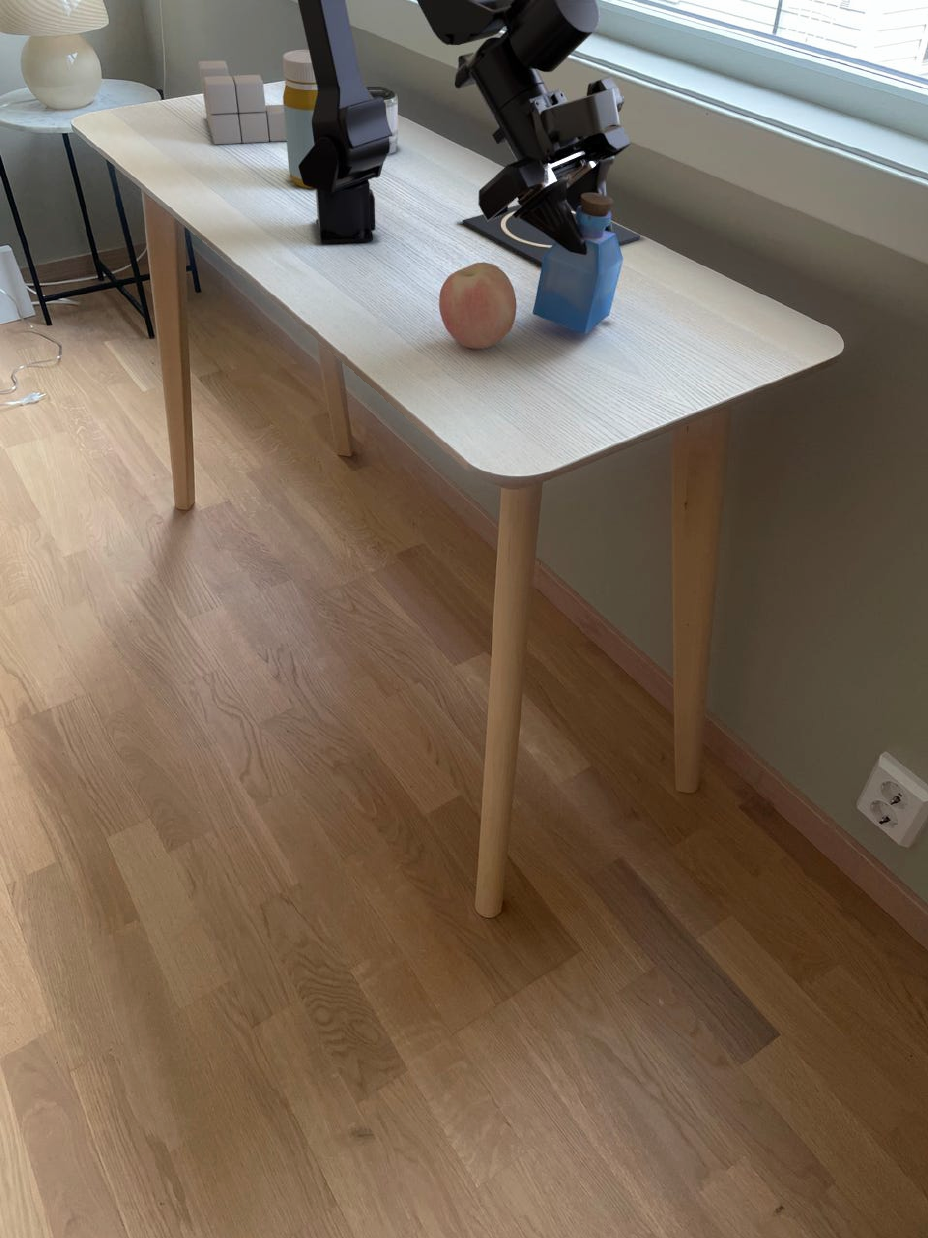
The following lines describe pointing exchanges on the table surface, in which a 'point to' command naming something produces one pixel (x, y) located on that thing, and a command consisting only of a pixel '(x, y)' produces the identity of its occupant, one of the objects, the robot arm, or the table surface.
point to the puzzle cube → (239, 107)
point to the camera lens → (388, 112)
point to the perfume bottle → (581, 271)
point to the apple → (478, 305)
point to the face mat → (528, 234)
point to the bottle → (298, 108)
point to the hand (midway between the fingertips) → (596, 249)
